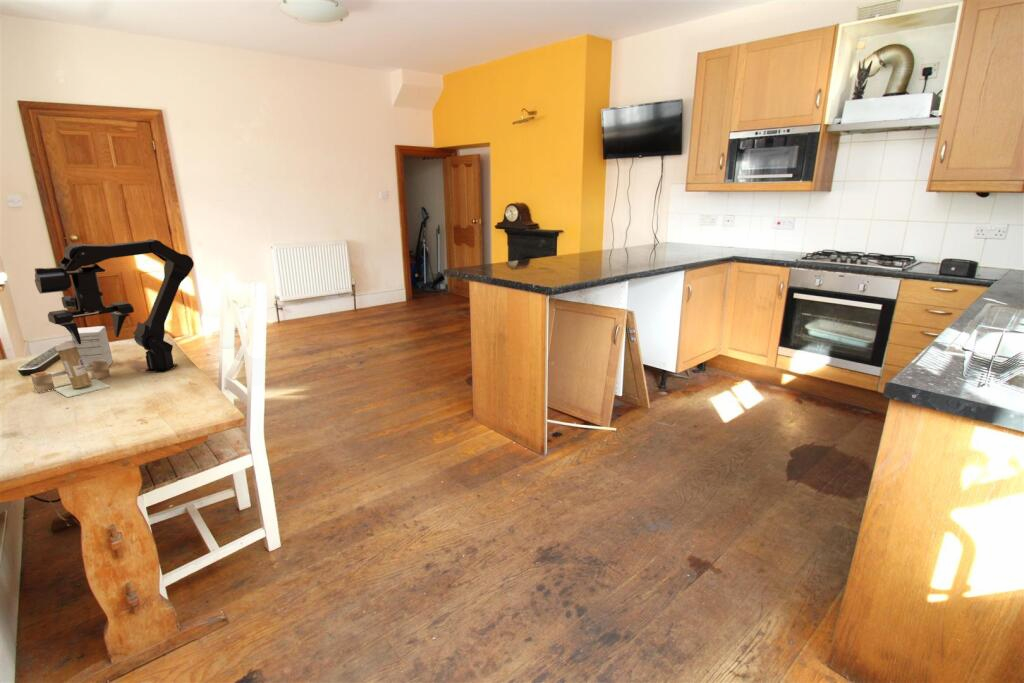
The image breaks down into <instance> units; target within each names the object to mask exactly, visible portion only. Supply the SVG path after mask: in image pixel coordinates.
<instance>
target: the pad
mask: <svg viewBox="0 0 1024 683" xmlns="http://www.w3.org/2000/svg"><path fill="white" fill-rule="evenodd" d="M90 380H91V382H92V383H91V384H89V385H87V386H84V387H80V388H73V387H72V384H68V385H65V386H60V387H56V388H55V389H54V390H53V391H55V390H56V391H55V392H57V391H58V392H59V394H60V393H61V394H63V395H64V397H65V396H66V397H67V398H66V397H65V398H66V399H69V398H68V397H70V398H73V397H72V396H74V397H78V396H81V395H80V394H82V395H85V394H84V393H86V394H89V393H88V392H90V393H93V392H92V391H94V392H97V391H96V390H98V391H101V390H104V388H105V389H109V388H110V387H111V386H110V384H107V383H105V382H102V380H100V379H95V378H93V379H90ZM108 387H109V388H108ZM100 389H101V390H100ZM58 392H57V393H58ZM61 394H60V395H61ZM63 395H62V396H63ZM77 395H78V396H77Z"/></svg>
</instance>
